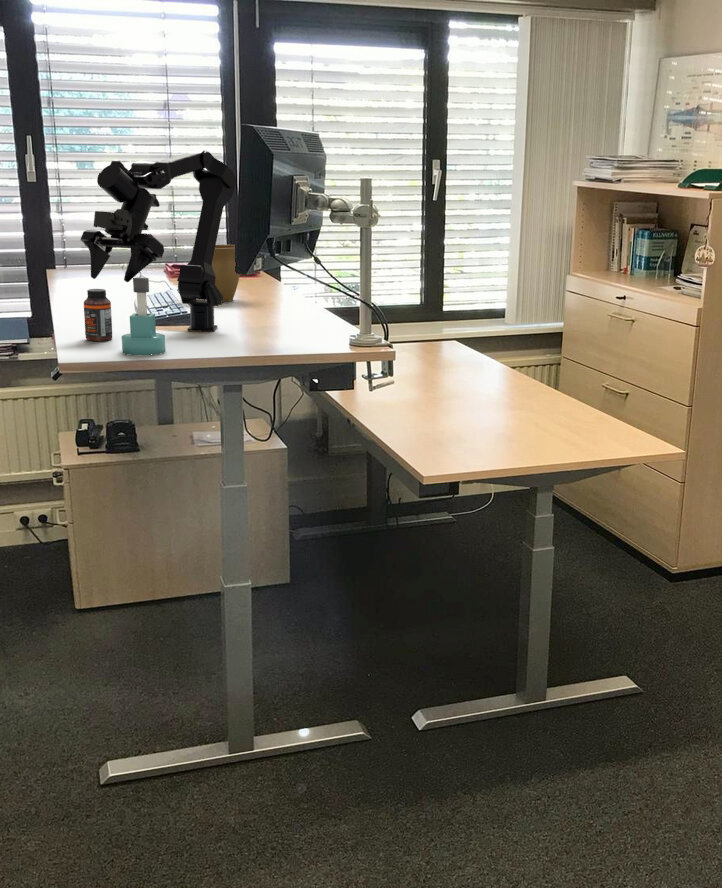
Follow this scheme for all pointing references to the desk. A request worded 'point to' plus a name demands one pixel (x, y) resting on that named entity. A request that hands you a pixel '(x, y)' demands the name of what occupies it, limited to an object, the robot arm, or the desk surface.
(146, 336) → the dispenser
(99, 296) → the supplement bottle
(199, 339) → the desk surface
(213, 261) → the plant pot
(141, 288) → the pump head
